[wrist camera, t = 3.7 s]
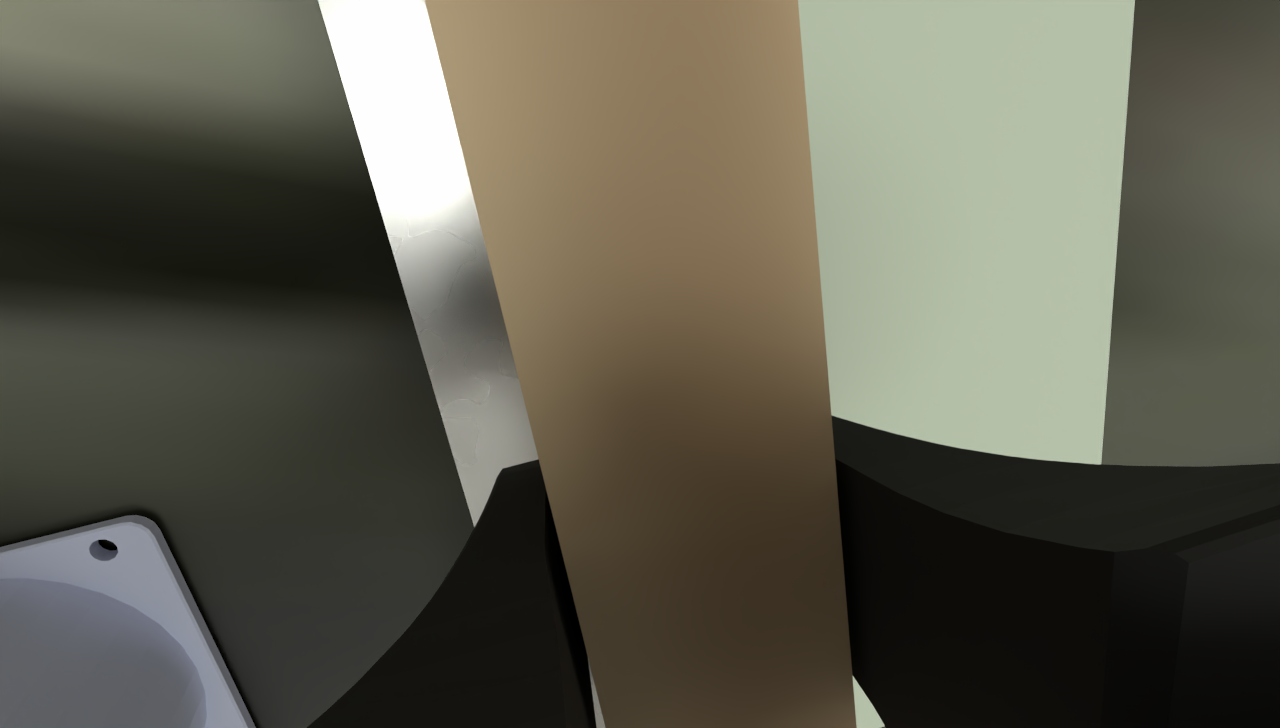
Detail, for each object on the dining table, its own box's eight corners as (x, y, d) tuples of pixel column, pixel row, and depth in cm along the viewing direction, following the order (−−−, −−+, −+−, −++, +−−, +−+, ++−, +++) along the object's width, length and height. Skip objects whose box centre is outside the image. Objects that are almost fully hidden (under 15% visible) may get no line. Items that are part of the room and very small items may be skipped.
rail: (678, 1016, 15) (728, 1222, 12) (269, -633, 6) (120, -1221, 4) (813, 963, 15) (890, 1149, 13) (604, -638, 7) (703, -1163, 4)
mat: (826, 727, 23) (834, 743, 22) (709, -437, 13) (721, -462, 12) (1072, 644, 24) (1087, 656, 24) (1142, -467, 14) (1170, -489, 14)
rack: (545, 755, 21) (574, 979, 15) (260, -214, 12) (108, -461, 7) (773, 682, 22) (875, 866, 16) (651, -255, 14) (775, -496, 8)
